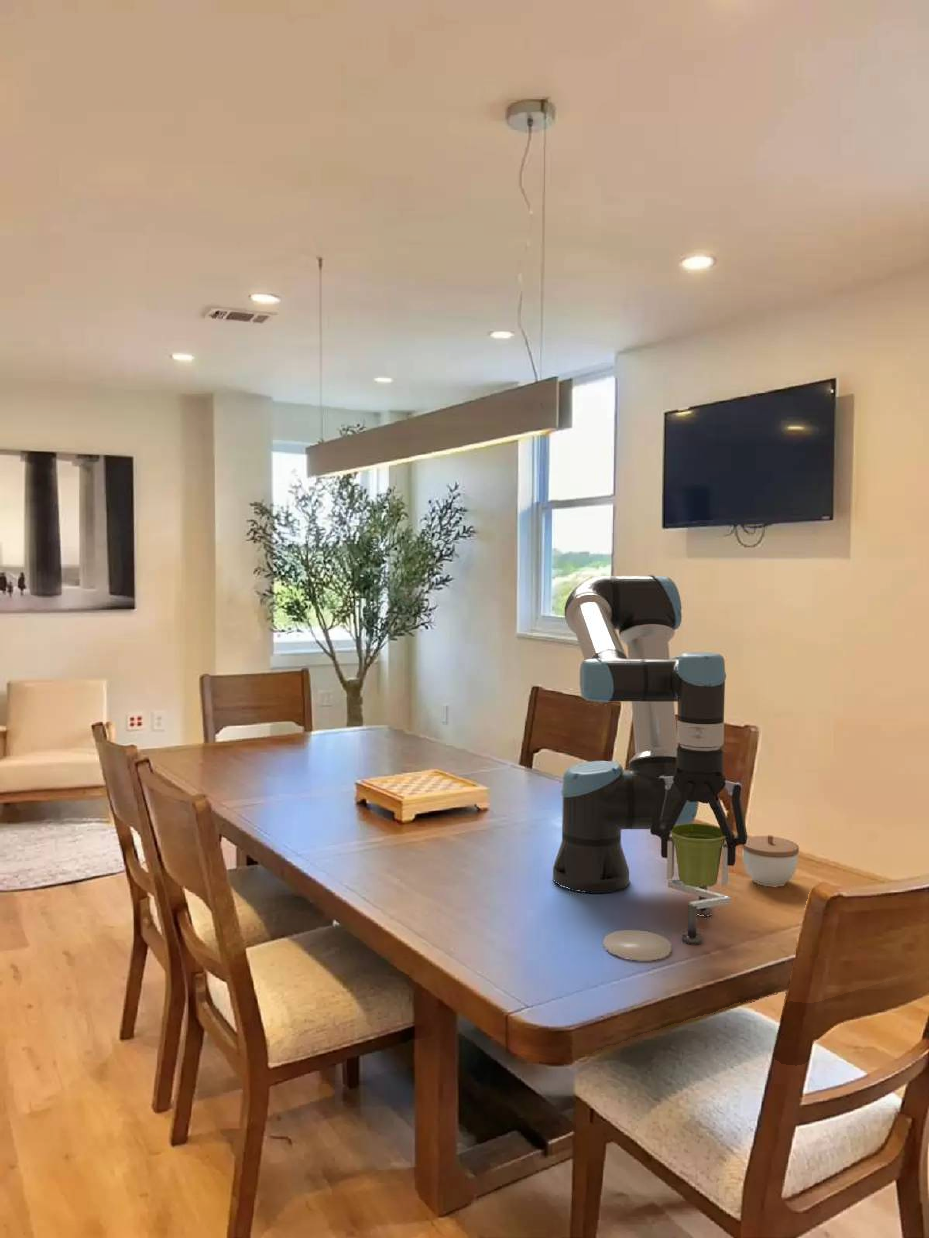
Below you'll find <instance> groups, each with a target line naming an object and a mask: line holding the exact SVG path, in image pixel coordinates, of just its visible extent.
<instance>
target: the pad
mask: <svg viewBox="0 0 929 1238" xmlns="http://www.w3.org/2000/svg"><path fill="white" fill-rule="evenodd" d="M603 944H604V945H603V948H604V947H605V948H606V949H607V950H608V951H610V952H611V953H612V954H614V955H617V956H619V957H621V958H620V959H622V958H628V959H630V960H629V961H632V960H637V961H636V962H653V961H652V960H656V961H658V960H657V959H660V960H662V959H661V958H663V959H665V958H667V957H668V956H670V954H671V953H672V943H671V942H670V941H669V940H668V939H667V938H666V937H664V936H662V935H660V934H657V933H655V932H650V931H647V930H646V931H645V930H640V929H639V930H638V929H626V930H625V929H624V930H623V929H622V930H618V931H613V932H611V933H608V934H607V935H606V936H605V937H604V938H603ZM605 948H604V949H605ZM670 952H671V953H670ZM612 954H611V955H612ZM614 955H613V956H614ZM666 956H667V957H666ZM619 957H618V958H619Z"/></svg>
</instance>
